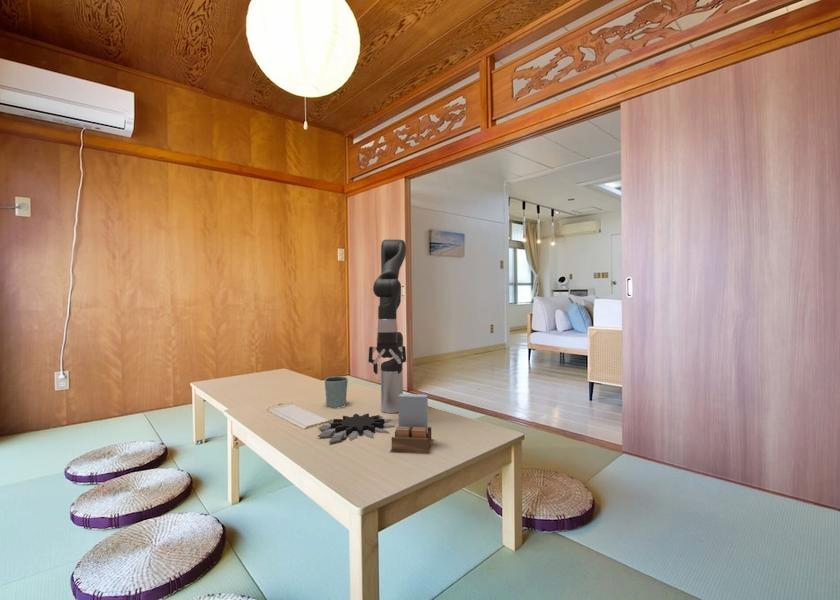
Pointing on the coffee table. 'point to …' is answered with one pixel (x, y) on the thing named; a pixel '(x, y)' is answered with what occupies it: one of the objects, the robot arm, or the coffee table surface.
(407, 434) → the offcut
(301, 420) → the baseboard molding
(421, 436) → the offcut
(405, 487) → the coffee table surface
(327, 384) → the teal cup
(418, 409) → the tall board
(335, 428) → the decorative piece
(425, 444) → the rack
